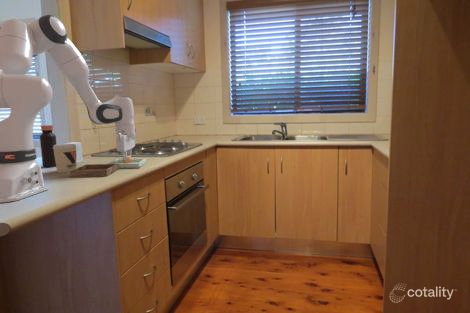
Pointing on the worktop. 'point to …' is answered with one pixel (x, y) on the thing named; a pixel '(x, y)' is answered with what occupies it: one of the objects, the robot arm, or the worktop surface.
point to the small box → (78, 151)
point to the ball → (128, 160)
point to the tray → (134, 164)
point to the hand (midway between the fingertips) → (127, 158)
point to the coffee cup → (65, 157)
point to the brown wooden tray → (94, 170)
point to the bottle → (48, 146)
